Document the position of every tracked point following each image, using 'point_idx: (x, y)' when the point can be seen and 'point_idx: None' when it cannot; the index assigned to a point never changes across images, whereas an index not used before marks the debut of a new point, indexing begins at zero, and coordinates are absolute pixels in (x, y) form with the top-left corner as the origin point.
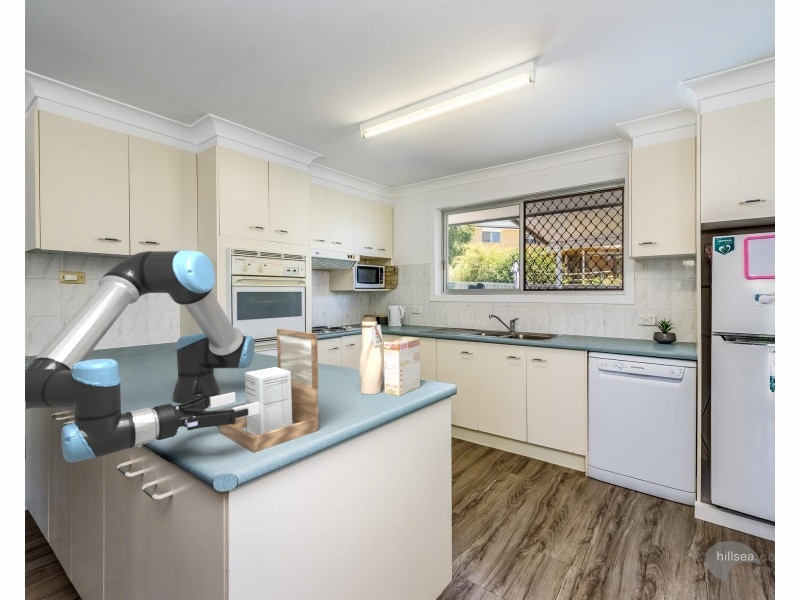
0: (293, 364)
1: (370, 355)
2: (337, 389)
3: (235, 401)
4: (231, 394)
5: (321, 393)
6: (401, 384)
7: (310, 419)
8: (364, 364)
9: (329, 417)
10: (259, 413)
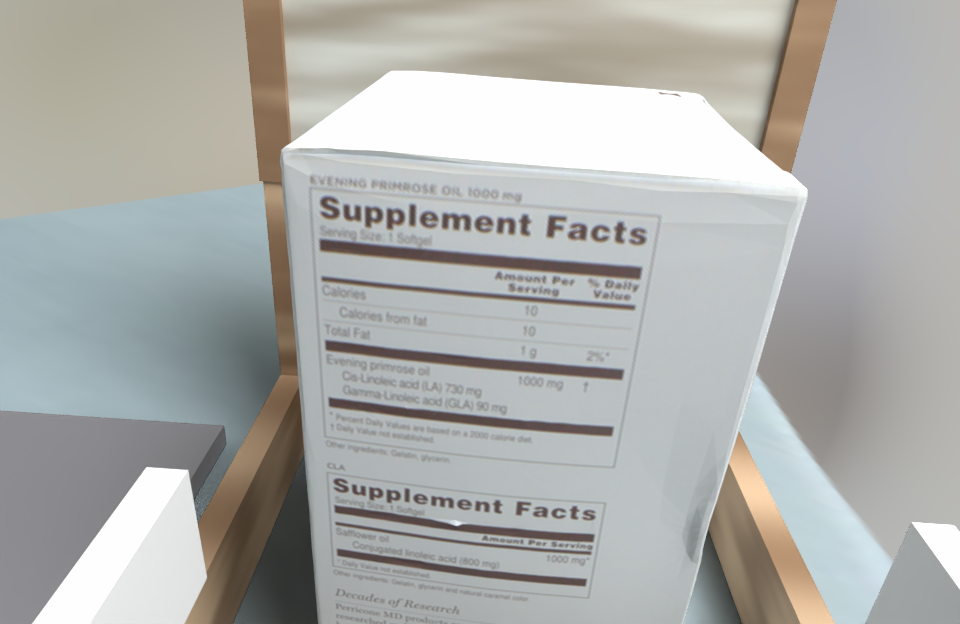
0: (496, 44)
1: None
2: (265, 208)
3: (205, 569)
4: (162, 524)
5: (232, 238)
6: None
7: None
8: None
9: None
10: (673, 587)
